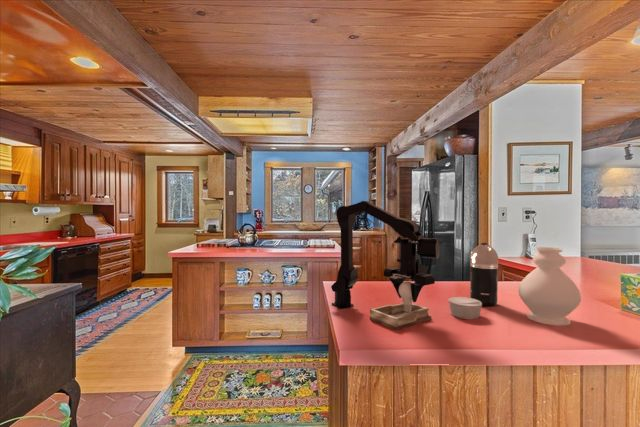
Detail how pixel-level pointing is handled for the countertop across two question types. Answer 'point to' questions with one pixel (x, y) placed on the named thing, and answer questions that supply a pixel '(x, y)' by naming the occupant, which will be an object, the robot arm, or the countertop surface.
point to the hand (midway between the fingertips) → (407, 299)
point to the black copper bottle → (484, 275)
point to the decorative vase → (549, 289)
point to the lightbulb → (406, 295)
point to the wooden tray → (399, 315)
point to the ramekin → (465, 307)
